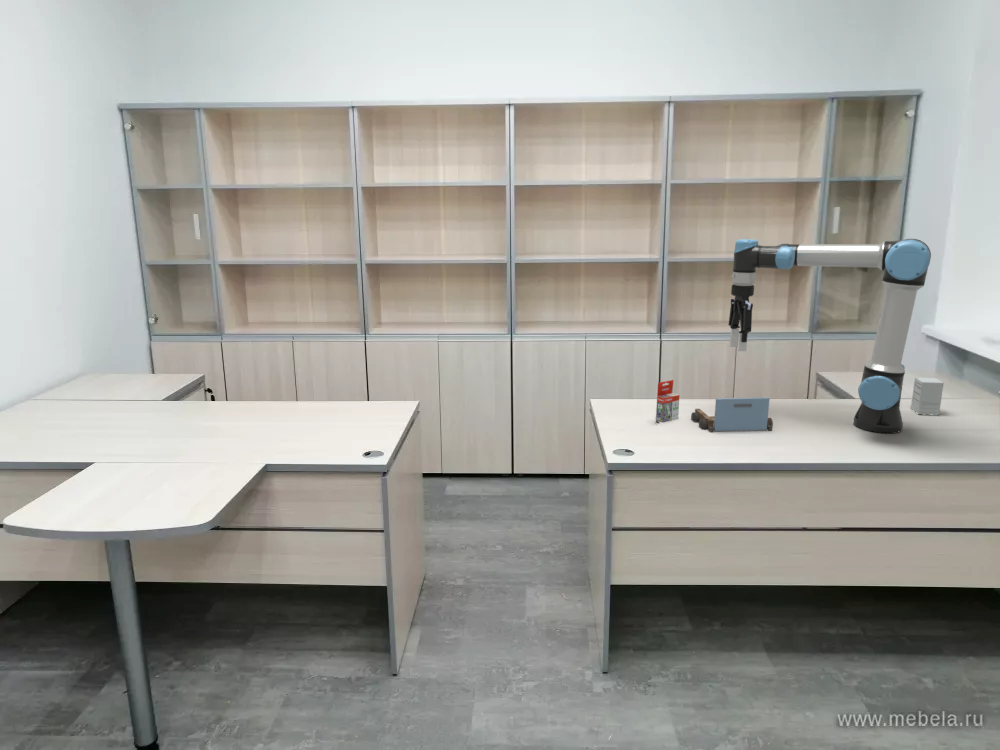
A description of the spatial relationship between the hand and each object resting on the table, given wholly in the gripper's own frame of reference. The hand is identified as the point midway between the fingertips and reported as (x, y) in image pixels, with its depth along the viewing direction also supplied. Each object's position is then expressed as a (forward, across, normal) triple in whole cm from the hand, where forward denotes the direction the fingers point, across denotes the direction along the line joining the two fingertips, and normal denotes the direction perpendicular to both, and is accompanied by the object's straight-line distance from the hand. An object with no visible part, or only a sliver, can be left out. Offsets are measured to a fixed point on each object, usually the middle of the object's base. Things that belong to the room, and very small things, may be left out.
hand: (737, 348), depth 254 cm
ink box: (+25, +6, -26) cm, 37 cm away
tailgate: (+24, +20, -5) cm, 32 cm away
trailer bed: (+25, +13, -5) cm, 29 cm away
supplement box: (+25, +2, +72) cm, 77 cm away
